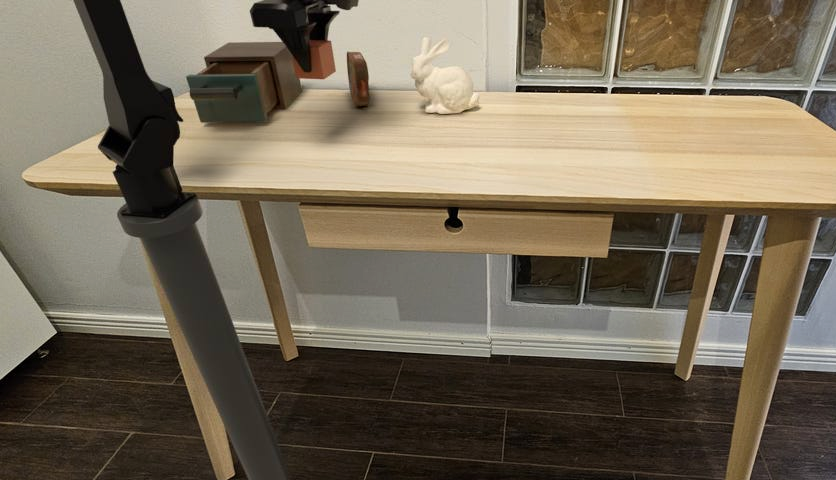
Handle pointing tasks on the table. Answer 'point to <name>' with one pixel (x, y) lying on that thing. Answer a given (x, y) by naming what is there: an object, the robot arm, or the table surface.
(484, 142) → the table surface
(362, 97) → the tin
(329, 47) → the block
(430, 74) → the rabbit
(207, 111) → the drawer
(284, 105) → the cabinet
